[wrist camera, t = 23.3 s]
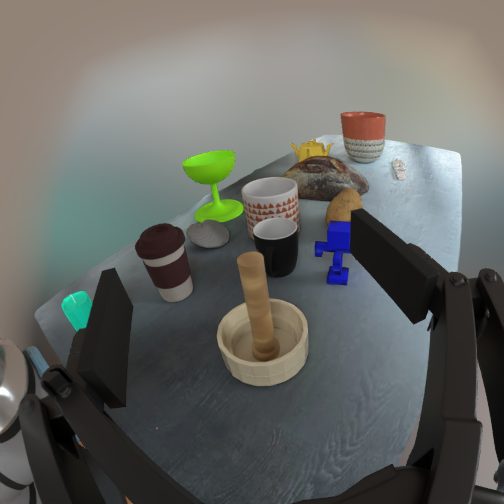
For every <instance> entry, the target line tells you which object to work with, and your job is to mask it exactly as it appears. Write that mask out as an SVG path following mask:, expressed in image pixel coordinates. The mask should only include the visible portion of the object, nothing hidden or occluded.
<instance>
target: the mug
mask: <svg viewBox="0 0 504 504" xmlns="http://www.w3.org/2000/svg"><path fill="white" fill-rule="evenodd" d="M253 236H254V241H255V246H256V250H257V252H259V253H261V254H262V255H263V257H264V264H265V272H266V273H267V274H268V276H273V277H283V276H286V275H289V274H290V273H291V272H292V271H293V270H294V268H295V266H296V261H297V254H298V227H297V224H296V223H295V222H294V221H293V220H291V219H288V218H281V217H276V218H269V219H266V220H263V221H261V222H259V223H257V224H256V225H255V226H254V228H253Z"/></svg>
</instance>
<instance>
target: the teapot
mask: <svg viewBox="0 0 504 504" xmlns="http://www.w3.org/2000/svg"><path fill="white" fill-rule="evenodd" d="M333 144H334V143H331V144H328V146H327V150H326V151H325V149H324V145H323V143H316V139H313V141H309V143H302V145H301V146H300V148H299V151H298V149H297V147H296V145H295V144H290V145H292V146H293V148H294V151H295V154H296V155H297V156H298V157H299V162H301V161H303V160H304V159H306V158H308V157H312V156H328V155H329V151H330V147H331V145H333Z"/></svg>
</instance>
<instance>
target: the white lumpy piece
mask: <svg viewBox="0 0 504 504" xmlns="http://www.w3.org/2000/svg"><path fill="white" fill-rule="evenodd" d="M392 166H393V167H395V168H394V171H395V172H396V176H397V177H398V179H399V180H405V178H406V174H405V172H406V170H405V169H404V168H406V166H405V164H404V163H403V162H402V161H400V160H399V159H396V160H395V161H394V162H393V165H392ZM398 166H401V167H398ZM397 169H401V170H403V171H397Z"/></svg>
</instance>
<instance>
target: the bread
mask: <svg viewBox="0 0 504 504" xmlns="http://www.w3.org/2000/svg"><path fill="white" fill-rule="evenodd" d="M282 177H284V178H289V179H292V180H294V181H295V182H296V183H297V188H298V198H302V199H311V200H320V201H331V200H333V199H334V198H335V197H336V196H337V195H338V194H340V193H341V192H342V191H343V190H344V189H346V188H352V189H355V190H356V191H357V192H358V193H359V194H360V195H363V192H365V191H366V192H367V191H368V189H369V188H368V187H370V186H369V184H368V181H367V180H366V178H365V177H363V175H362V174H361V173H359V172H358V171H357V170H356V169H355V168H353V167H352V166H350V165H349V164H348V163H346V162H344V161H342V160H339V159H337V158H333V157H329V156H312V157H308V158H306V159H304V160H303V161H301V162H299V163H297V164H295V165H294V166H292V167H291V168H290V169H289V170H288V171H287V172H286V173H285V174H284V175H283V176H282ZM366 192H365V193H366ZM313 196H314V197H313ZM312 197H313V198H312Z"/></svg>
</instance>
